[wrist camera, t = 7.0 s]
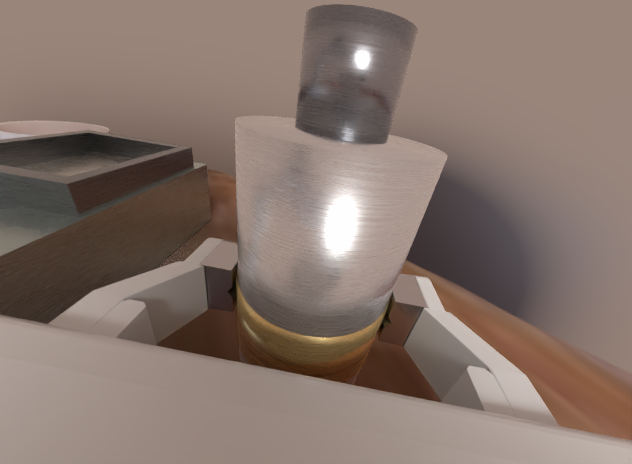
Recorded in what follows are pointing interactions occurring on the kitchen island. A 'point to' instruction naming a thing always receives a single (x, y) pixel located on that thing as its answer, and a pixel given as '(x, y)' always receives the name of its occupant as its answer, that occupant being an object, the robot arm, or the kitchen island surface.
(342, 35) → the frosted glass bottle
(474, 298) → the kitchen island surface
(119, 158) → the green tray box
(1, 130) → the candle
